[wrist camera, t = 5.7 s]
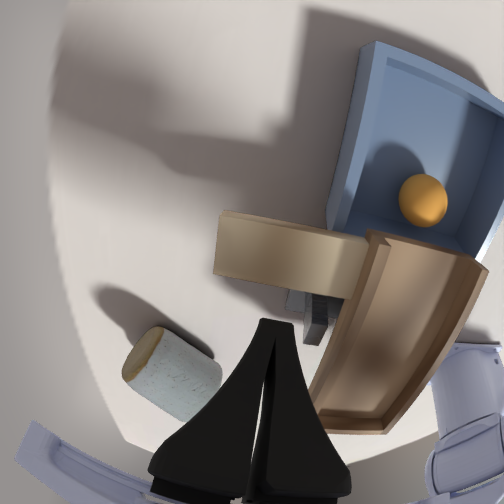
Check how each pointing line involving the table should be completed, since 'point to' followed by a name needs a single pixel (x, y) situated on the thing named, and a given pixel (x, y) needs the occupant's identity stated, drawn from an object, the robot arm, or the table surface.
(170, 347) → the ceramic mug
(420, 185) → the orange ball
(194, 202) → the table surface
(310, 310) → the pivot stand
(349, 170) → the bin
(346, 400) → the tilt ramp
